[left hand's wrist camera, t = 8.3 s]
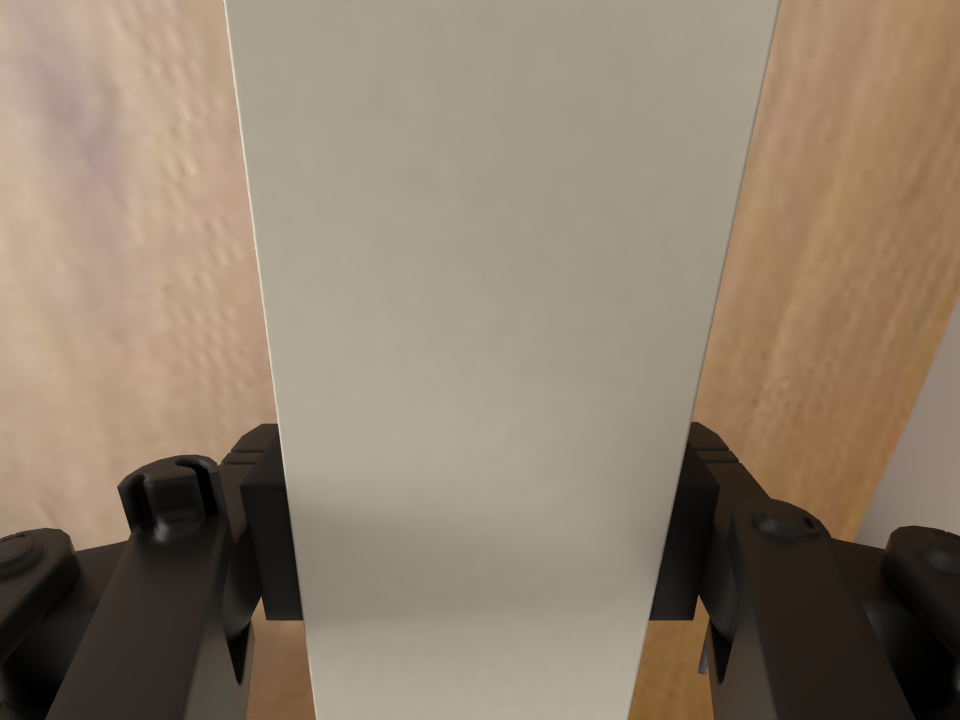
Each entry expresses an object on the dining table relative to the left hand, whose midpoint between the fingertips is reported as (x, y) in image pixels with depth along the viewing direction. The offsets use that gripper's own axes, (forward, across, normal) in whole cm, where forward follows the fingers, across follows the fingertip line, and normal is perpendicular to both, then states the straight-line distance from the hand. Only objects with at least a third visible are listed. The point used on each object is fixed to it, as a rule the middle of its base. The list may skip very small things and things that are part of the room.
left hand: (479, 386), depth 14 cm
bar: (0, -1, -31) cm, 31 cm away
